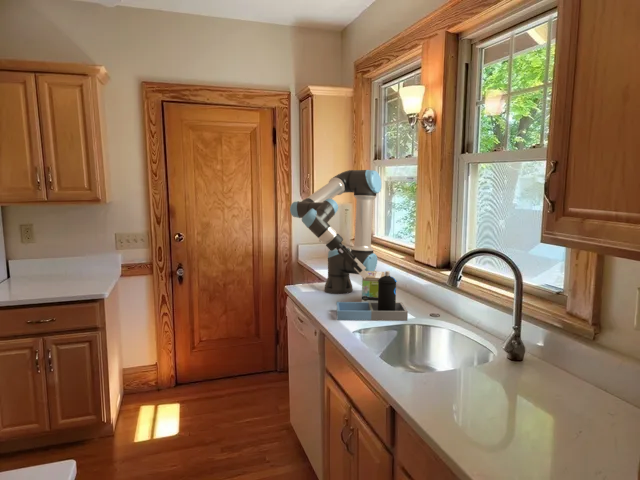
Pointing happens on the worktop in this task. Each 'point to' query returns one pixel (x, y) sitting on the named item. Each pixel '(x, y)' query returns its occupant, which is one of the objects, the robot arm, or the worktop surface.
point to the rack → (370, 312)
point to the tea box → (371, 286)
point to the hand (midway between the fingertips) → (365, 273)
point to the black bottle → (386, 293)
